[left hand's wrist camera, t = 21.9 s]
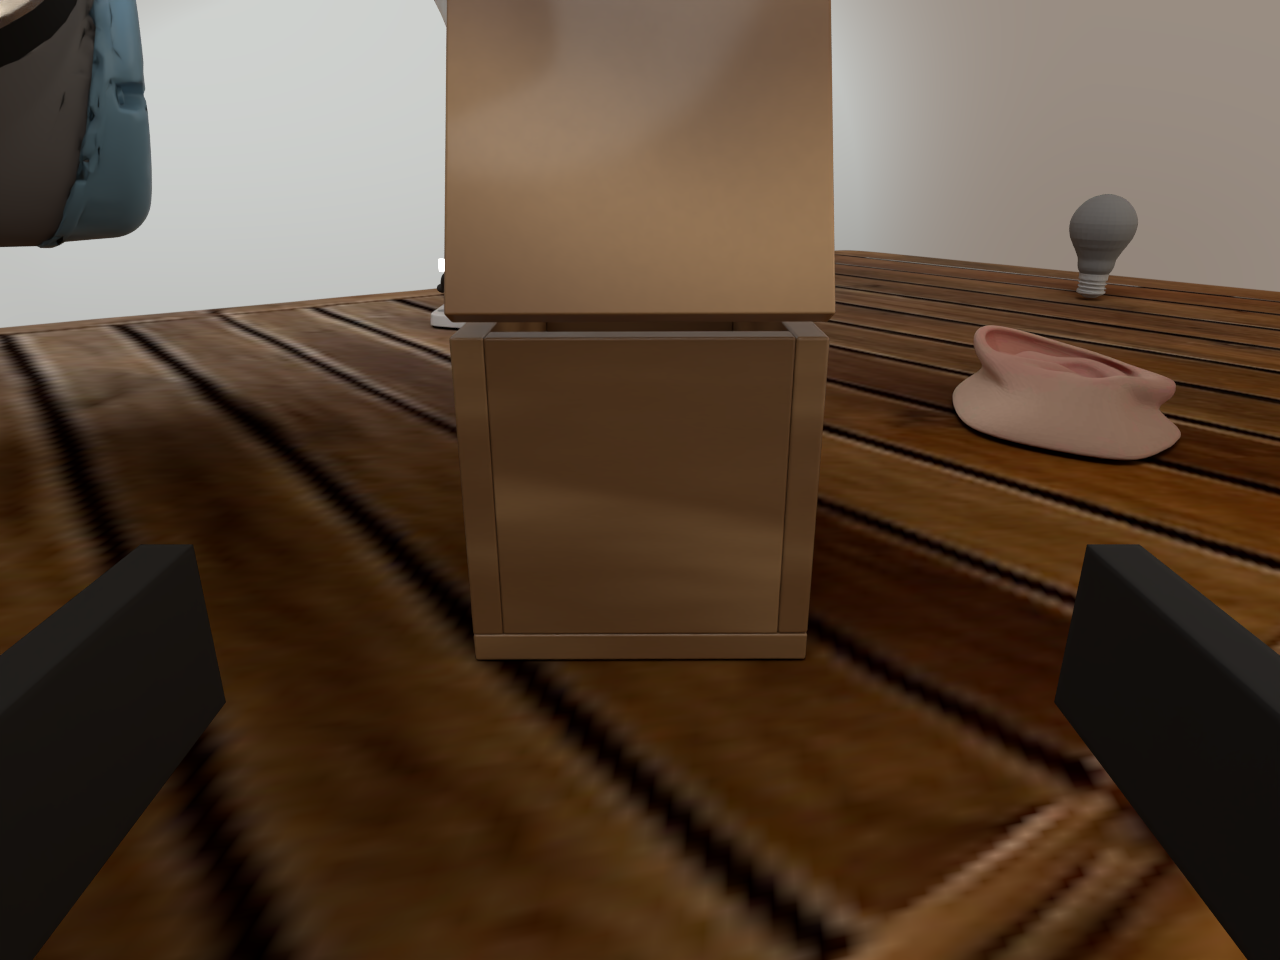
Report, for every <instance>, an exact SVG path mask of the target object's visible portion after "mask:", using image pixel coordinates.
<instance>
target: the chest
mask: <svg viewBox="0 0 1280 960" xmlns="http://www.w3.org/2000/svg"><path fill="white" fill-rule="evenodd" d="M449 341H450V353H451V365H452V377H453V390H454V402H455V414H456V426H457V438H458V451H459V463H460V475H461V487H462V499H463V512H464V524H465V536H466V548H467V560H468V572H469V585H470V597H471V609H472V621H473V632H474V644H475V656H476V659H478V660H510V659H804V658H805V655H806V642H807V634H806V631H807V627H808V614H809V601H810V588H811V575H812V562H813V549H814V536H815V523H816V510H817V496H818V483H819V470H820V457H821V444H822V431H823V418H824V405H825V392H826V379H827V366H828V353H829V337H828V336H827V335H826V334H825V333H823V332H822V331H821V330H820V329H819V328H818V327H817V326H816V325H815V324H814V323H813V322H466V323H465V324H464V325H463V326H462V327H461V328H460V329H459V330H458V331H457V332H456V333H455V334H454V335H453V336H452V337H451V338H450V340H449Z"/></svg>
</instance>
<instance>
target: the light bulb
mask: <svg viewBox="0 0 1280 960" xmlns="http://www.w3.org/2000/svg"><path fill="white" fill-rule="evenodd" d="M1137 225H1138V219H1137V215H1136V212H1135V210H1134V208H1133V206H1132V205H1131V204H1130V203H1129V202H1128V201H1127V200H1126V199H1124V198H1122V197H1120V196H1116V195H1112V194H1105V195H1100V196H1096V197H1093V198H1091V199H1089V200H1087V201H1086V202H1085V203H1083V204H1082V205H1081V206H1080V207H1079V208H1078V209H1077V210H1076V212H1075V213H1074V215H1073V217H1072V219H1071V221H1070V228H1069V232H1070V238H1071V241H1072V243H1073V246H1074V248H1075V251H1076V253H1077V256H1078V269H1079V279H1080V280H1079V281H1078V282H1080V284H1078V286H1079V288H1077V291H1076V292H1078V293H1079V294H1081V295H1083V297H1088V298H1096V297H1098V296H1100V295H1103V294H1105V291H1104V289H1106V288H1104V287H1105V285H1107V284H1105V281H1108V276H1109V273H1110V272H1111V271H1112V269H1113V268H1114V265H1115V261H1116V259H1117V258H1118V257H1119V255H1120V254H1121V252H1122V251H1123V250H1124V249H1125V248H1126V247H1127V245H1128V244H1129V243H1130V241H1131V240H1132V239H1133V237H1134V235H1135V232H1136V230H1137Z"/></svg>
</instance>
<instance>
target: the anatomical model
mask: <svg viewBox="0 0 1280 960" xmlns="http://www.w3.org/2000/svg"><path fill="white" fill-rule="evenodd" d="M974 348H975V351H976V354H977V356H978V358H979V360H980V361H981V363H982V368H981V369H980V370H979V371H978V372H977V373H975V374H973V375H972V376H970V377H969V378H967V379H966V380H964V381H963V382H962V383H960V384H959V385H958V386H957V387H956V389H955V390H954V393H953V404H954V407H955V410H956V412H957V414H958V416H959V417H960V418H961V419H962V421H963V422H964V423H966V424H967V425H968V426H970V427H971V428H973V429H975V430H977V431H979V432H982V433H985V434H988V435H991V436H994V437H997V438H1001V439H1004V440H1008V441H1012V442H1016V443H1020V444H1025V445H1029V446H1034V447H1039V448H1044V449H1049V450H1054V451H1060V452H1065V453H1071V454H1076V455H1083V456H1090V457H1096V458H1104V459H1114V460H1138V459H1143V458H1147V457H1150V456H1153V455H1155V454H1157V453H1159V452H1161V451H1163V450H1165V449H1167V448H1169V447H1171V446H1172V445H1173V444H1174V443H1175V442H1176V441H1177V440H1178V439H1179V438H1180V436H1181V433H1180V431H1179V429H1178V428H1177V427H1176V426H1175V425H1174V424H1173V423H1172V422H1171V421H1170V420H1169V419H1168V418H1166V417H1165V416H1164V415H1163V414H1162V413H1161V411H1160V410H1159V408H1160V406H1161V405H1162V404H1163V403H1164V402H1166V401H1167V400H1168V399H1170V398H1171V397H1172V396H1173V395H1174V392H1175V388H1176V385H1175V382H1174V381H1172V380H1171V379H1169V378H1167V377H1164V376H1161V375H1159V374H1156V373H1153V372H1150V371H1147V370H1144V369H1141V368H1138V367H1135V366H1132V365H1129V364H1126V363H1124V362H1121V361H1118V360H1116V359H1113V358H1110V357H1107V356H1104V355H1101V354H1098V353H1096V352H1092V351H1089V350H1086V349H1082V348H1079V347H1075V346H1072V345H1069V344H1065V343H1062V342H1058V341H1055V340H1052V339H1048V338H1045V337H1041V336H1038V335H1035V334H1031V333H1027V332H1024V331H1020V330H1016V329H1012V328H1007V327H1002V326H993V325H992V326H984V327H981V328H979V329H978V330H977V331H976V333H975V336H974Z"/></svg>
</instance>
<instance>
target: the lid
mask: <svg viewBox="0 0 1280 960" xmlns="http://www.w3.org/2000/svg"><path fill="white" fill-rule="evenodd" d="M831 51H832V50H831V0H447V39H446V149H445V257H444V314H445V316H446V317H447V318H448V319H449V320H450V321H451V322H453V323H460V322H826V321H828V320H829V319H830V318H831V317H832V316H833V315H834V314H835V260H834V191H833V120H832V52H831Z"/></svg>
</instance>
